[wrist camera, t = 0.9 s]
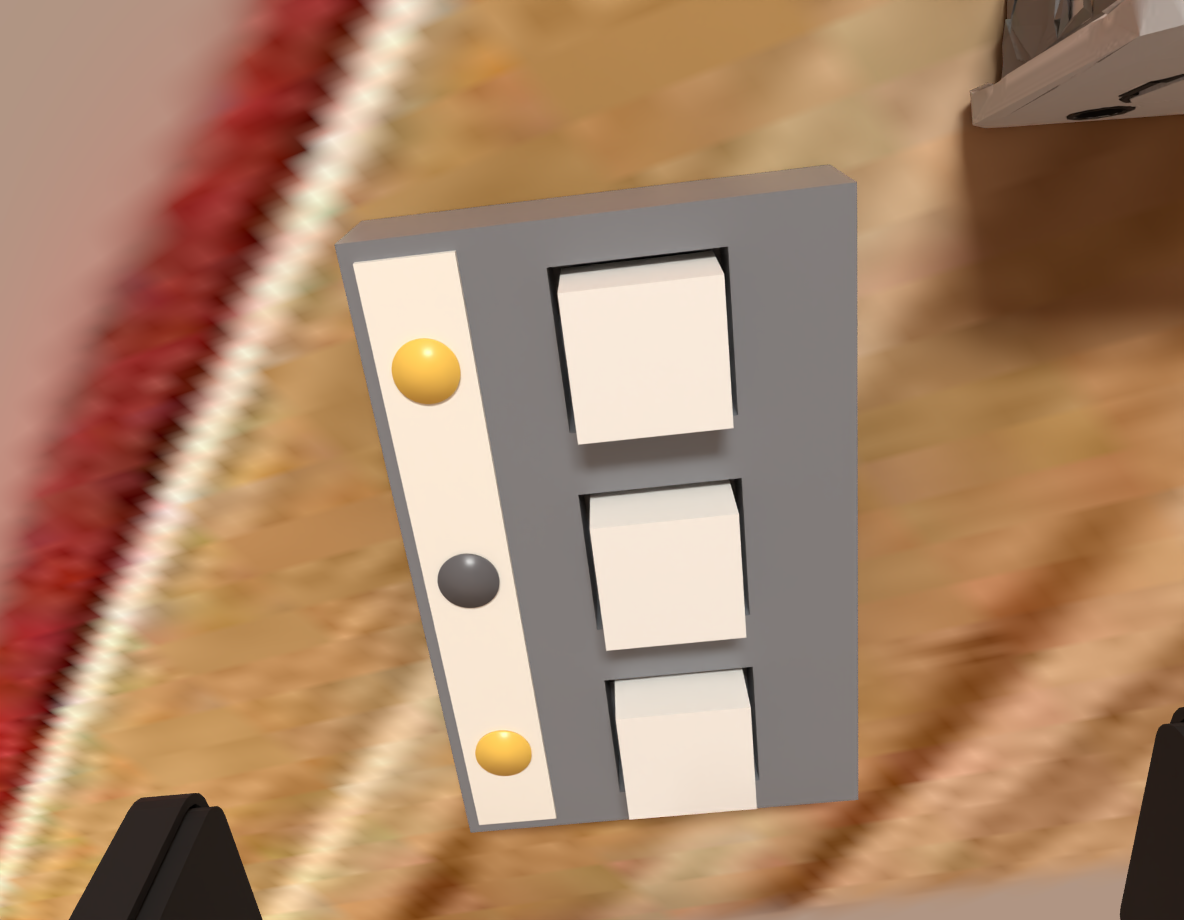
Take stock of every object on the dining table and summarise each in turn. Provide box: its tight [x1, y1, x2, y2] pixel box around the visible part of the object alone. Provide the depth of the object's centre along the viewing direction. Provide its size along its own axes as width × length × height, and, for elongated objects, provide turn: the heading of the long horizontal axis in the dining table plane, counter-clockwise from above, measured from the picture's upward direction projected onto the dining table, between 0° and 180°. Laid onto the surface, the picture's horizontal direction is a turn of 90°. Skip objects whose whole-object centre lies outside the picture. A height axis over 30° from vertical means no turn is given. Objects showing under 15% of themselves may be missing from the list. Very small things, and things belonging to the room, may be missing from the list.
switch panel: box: [335, 165, 858, 832], centre depth 29 cm, size 13×20×3 cm, turn 7°
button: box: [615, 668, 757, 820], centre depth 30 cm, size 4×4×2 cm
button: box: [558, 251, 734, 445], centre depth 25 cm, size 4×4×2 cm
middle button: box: [590, 479, 746, 651], centre depth 28 cm, size 4×4×2 cm
